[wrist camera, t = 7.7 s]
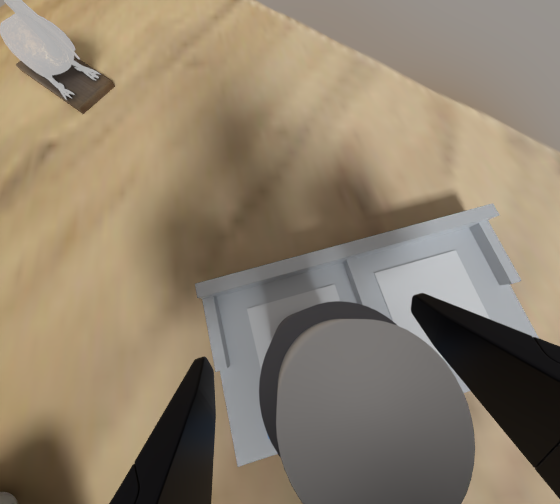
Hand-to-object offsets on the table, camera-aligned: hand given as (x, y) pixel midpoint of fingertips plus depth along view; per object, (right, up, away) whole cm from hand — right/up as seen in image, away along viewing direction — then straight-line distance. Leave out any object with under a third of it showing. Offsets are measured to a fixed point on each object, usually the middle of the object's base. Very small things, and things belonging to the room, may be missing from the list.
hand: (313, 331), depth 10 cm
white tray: (+5, -2, +8) cm, 10 cm away
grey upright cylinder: (0, -3, +7) cm, 8 cm away
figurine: (-22, +20, +15) cm, 34 cm away
